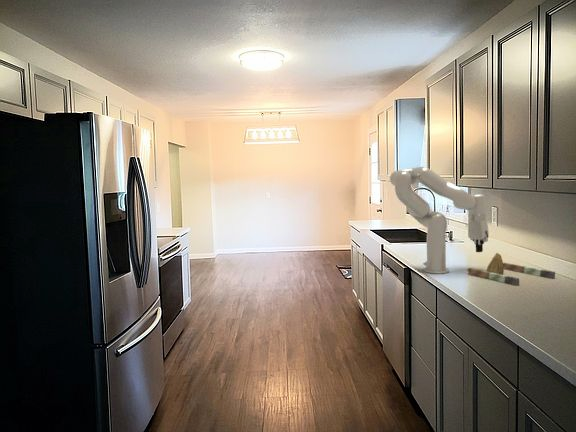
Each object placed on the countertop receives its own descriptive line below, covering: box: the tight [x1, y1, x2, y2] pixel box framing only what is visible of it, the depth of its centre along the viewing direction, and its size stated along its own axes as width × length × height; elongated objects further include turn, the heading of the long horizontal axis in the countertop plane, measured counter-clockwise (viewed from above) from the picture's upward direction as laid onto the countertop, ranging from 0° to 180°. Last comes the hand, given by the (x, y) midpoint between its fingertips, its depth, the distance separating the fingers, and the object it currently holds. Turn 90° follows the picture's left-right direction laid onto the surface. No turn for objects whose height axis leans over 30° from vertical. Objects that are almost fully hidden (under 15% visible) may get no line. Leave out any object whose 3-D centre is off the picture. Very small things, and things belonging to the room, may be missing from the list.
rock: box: [485, 252, 505, 275], centre depth 226 cm, size 11×9×10 cm
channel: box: [467, 262, 556, 287], centre depth 218 cm, size 28×26×3 cm
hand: (479, 251), depth 236 cm, fingers closed
